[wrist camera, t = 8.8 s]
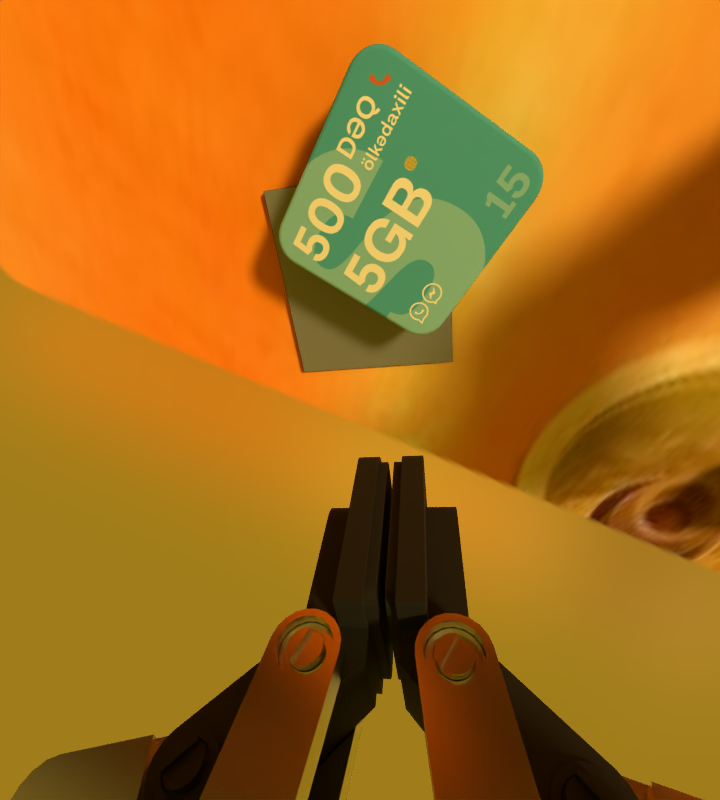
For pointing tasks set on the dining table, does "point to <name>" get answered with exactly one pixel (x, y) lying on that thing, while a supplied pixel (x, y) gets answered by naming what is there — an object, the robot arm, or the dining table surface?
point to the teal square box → (406, 192)
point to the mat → (346, 318)
